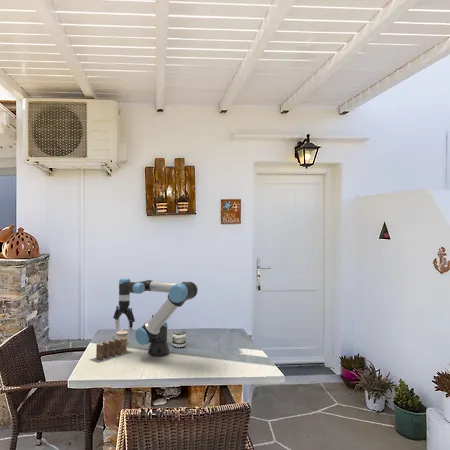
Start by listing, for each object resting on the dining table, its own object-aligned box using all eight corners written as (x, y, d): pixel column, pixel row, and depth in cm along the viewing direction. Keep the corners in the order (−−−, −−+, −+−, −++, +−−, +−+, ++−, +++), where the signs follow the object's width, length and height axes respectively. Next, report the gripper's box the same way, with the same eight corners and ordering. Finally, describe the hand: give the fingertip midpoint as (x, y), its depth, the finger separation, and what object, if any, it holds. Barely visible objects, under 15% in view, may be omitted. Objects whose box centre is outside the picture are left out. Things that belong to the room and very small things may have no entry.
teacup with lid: (129, 342, 325) (129, 327, 325) (125, 346, 316) (126, 330, 316) (114, 342, 326) (114, 327, 326) (110, 345, 317) (110, 330, 317)
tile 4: (104, 356, 289) (104, 342, 289) (109, 358, 286) (109, 343, 286) (102, 357, 288) (102, 342, 288) (107, 358, 285) (107, 343, 285)
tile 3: (110, 354, 293) (110, 340, 293) (115, 356, 290) (115, 341, 290) (108, 355, 292) (108, 341, 292) (113, 356, 289) (113, 342, 289)
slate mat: (133, 353, 300) (133, 352, 300) (98, 363, 276) (98, 362, 276) (124, 350, 306) (124, 349, 306) (88, 360, 282) (88, 359, 282)
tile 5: (98, 358, 285) (98, 343, 285) (103, 359, 282) (103, 344, 282) (96, 359, 284) (96, 344, 284) (100, 360, 281) (101, 345, 281)
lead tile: (124, 353, 297) (124, 339, 297) (119, 352, 300) (120, 338, 300) (126, 352, 298) (126, 338, 298) (121, 351, 301) (122, 337, 301)
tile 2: (116, 353, 297) (116, 338, 297) (120, 354, 294) (121, 340, 294) (114, 353, 296) (114, 339, 296) (118, 355, 293) (119, 340, 293)
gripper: (140, 301, 295) (139, 332, 295) (116, 297, 309) (116, 326, 309) (132, 303, 289) (131, 334, 289) (108, 298, 303) (108, 328, 303)
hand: (123, 330), depth 299 cm, fingers open, 13 cm apart
